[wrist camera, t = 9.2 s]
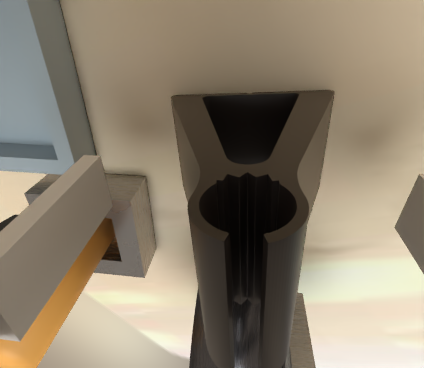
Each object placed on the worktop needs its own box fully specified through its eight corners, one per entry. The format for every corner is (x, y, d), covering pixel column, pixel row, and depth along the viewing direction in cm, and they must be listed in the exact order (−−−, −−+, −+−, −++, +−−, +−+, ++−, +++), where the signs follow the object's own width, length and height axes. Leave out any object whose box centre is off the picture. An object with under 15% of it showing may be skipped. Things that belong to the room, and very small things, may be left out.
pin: (86, 196, 21) (-39, 340, 12) (122, 198, 21) (21, 348, 12) (94, 224, 23) (-12, 372, 14) (128, 227, 23) (42, 379, 13)
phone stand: (183, 181, 20) (112, 365, 10) (172, 94, 17) (49, 232, 6) (317, 183, 19) (396, 395, 8) (333, 89, 15) (489, 251, 5)
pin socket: (52, 170, 20) (24, 193, 18) (145, 176, 20) (130, 201, 17) (76, 241, 24) (56, 268, 22) (156, 248, 24) (144, 277, 21)
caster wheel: (189, 202, 21) (86, 525, 8) (302, 210, 20) (396, 585, 7) (194, 297, 26) (140, 569, 14) (282, 307, 26) (311, 605, 13)
